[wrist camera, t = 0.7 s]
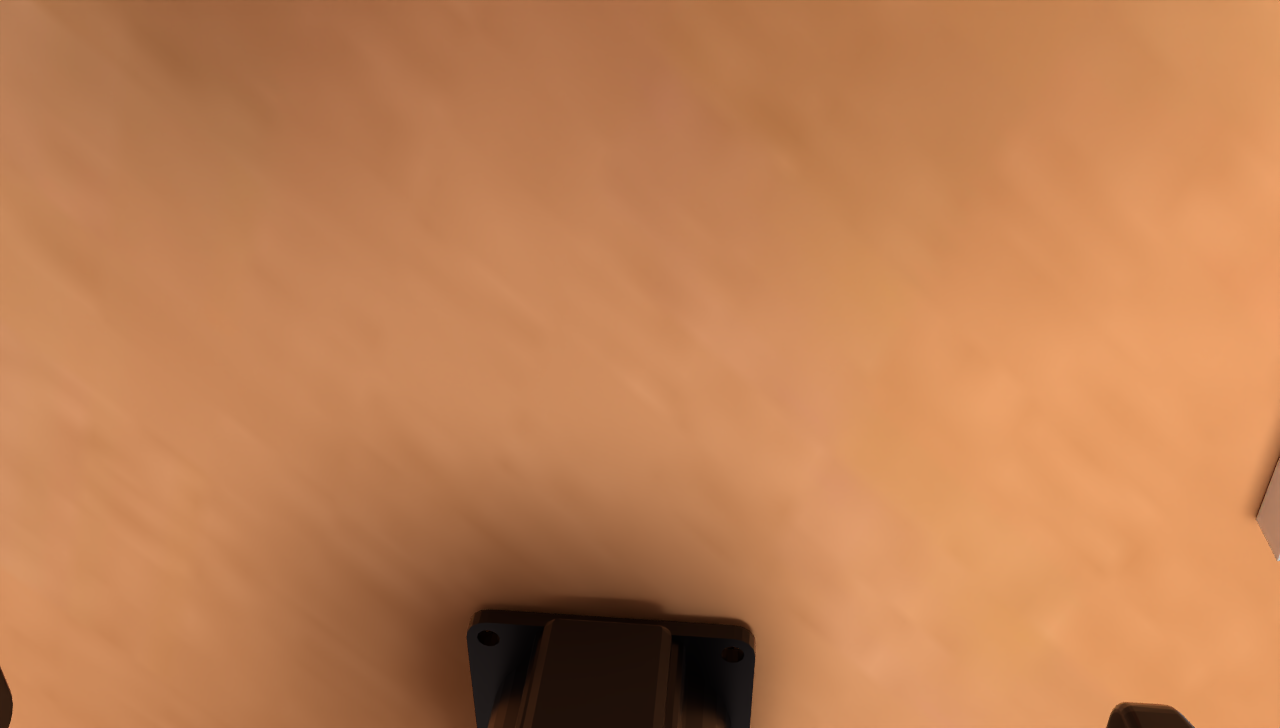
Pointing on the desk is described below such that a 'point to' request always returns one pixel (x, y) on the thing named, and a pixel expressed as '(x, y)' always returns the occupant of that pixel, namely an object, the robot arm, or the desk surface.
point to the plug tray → (1271, 513)
